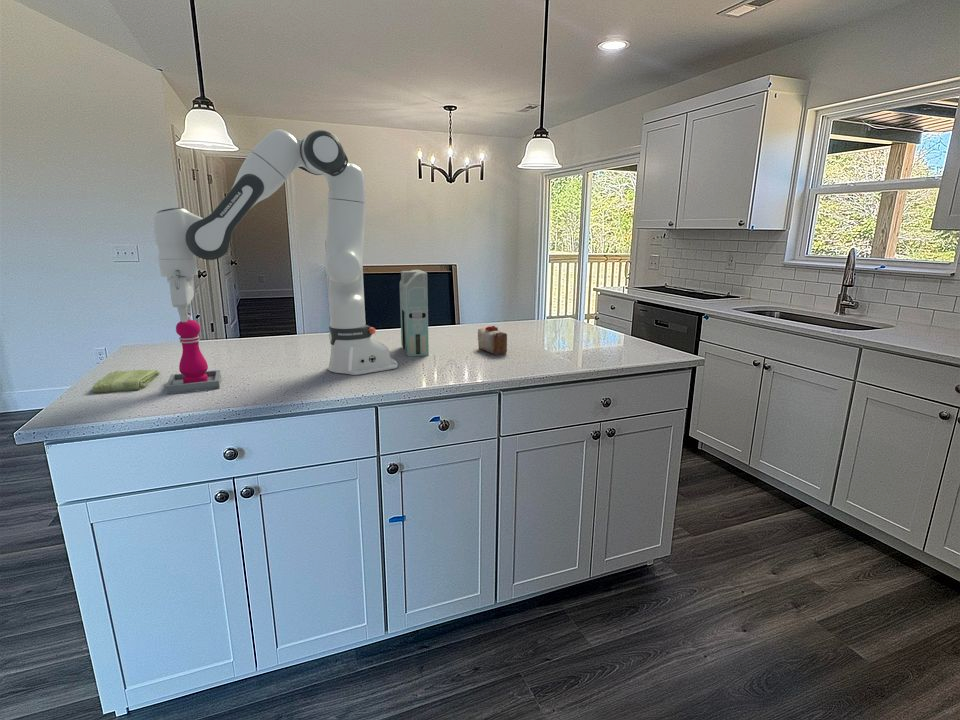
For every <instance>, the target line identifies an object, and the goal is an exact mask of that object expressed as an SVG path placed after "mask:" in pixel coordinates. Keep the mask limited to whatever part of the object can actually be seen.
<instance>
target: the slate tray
mask: <svg viewBox="0 0 960 720" xmlns="http://www.w3.org/2000/svg"><path fill="white" fill-rule="evenodd" d="M205 374H206V375H207V378H208V381H204V382H195V383H185V384H184V383H183V377H184V375H183V374H182V373H181V372H180V373H171V374H170V376H169V378H168V379H167V382H166V384H165V391H166V392H165V393H166V395H170V394H169V393H172V394H180V393H179V392H181V393H189V392H188V391H190V392H197V391H196V390H199V391H207V390H206V389H209V390H216V389H215V388H218V389H220V388H221V380H220V379H222V375H221V369H214V370H213V369H212V370H207V371H206V372H205Z"/></svg>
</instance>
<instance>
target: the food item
mask: <svg viewBox="0 0 960 720" xmlns="http://www.w3.org/2000/svg"><path fill="white" fill-rule="evenodd" d="M498 327H499V325H498V326H495V325H491V326H486V327H481V328H478V330H477V342H478V343H477V344H478V346H477V347H478V349H479V350H482V351H485V352H488V353H490V354H491V355H494V356H499V355H506V354H507V353H508V333H506V332H503V331H501V330H499V328H498Z"/></svg>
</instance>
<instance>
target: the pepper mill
mask: <svg viewBox="0 0 960 720" xmlns="http://www.w3.org/2000/svg"><path fill="white" fill-rule="evenodd" d="M175 331H176V334H178V335H179V343H181V346H182V351H181V352H182V354H181V358H180V361H179V365H178V366H179V372H180V374H181V373H182V374H183V375H184V377H183V383H184V384H185V383H195V382H204V381H208V378H207V375H206V374H205V372H206V371H208V369H209V365H208V362H207V360H206V358H205V356H204V355H203V353H202V351H201V349H200V346H199V342H200V341H201V340H200V336H199V334H200V332H201V325H200V324H199V322H197V321H196V320H194V319H191V316H189V315H188V321H187V322H181V320H180V321H179V322H178V323H177V324H176V325H175Z"/></svg>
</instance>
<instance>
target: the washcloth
mask: <svg viewBox="0 0 960 720" xmlns="http://www.w3.org/2000/svg"><path fill="white" fill-rule="evenodd" d="M159 374H161V373H160V370H157V369H143V368H142V369H132V370H125V371H123V370H115V371H113V372H109V373H107V374H106V375H105V376H104V377H102V378H101V379H100V380H97V381H96V382H95V383H94V385H92V389H91V390H92V391H93V393H96V394H100V393H114V392H124V391H125V392H126V391H128V392H129V391H140V389H141V390H143V389H144V388H146V387H147V386H148V385H149V384H150V383H149V382H152V381H153V380H154V379H155V378H156V377H157V376H158V375H159ZM148 383H149V384H148ZM142 388H143V389H142Z"/></svg>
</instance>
